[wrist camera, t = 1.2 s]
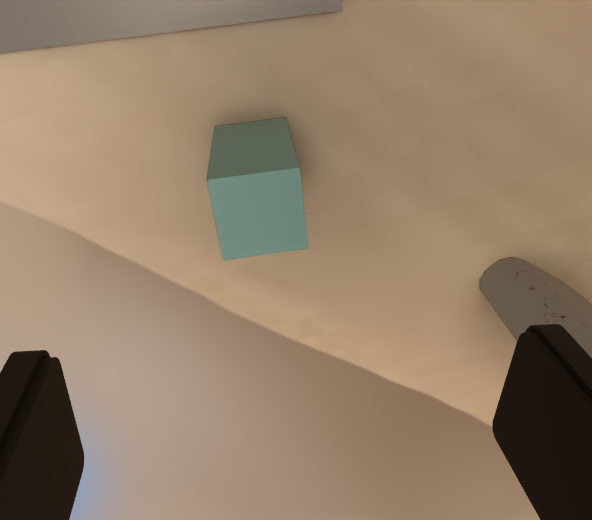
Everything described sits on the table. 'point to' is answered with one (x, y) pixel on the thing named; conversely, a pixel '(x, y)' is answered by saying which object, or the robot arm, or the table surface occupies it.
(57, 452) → the robot arm
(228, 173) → the block
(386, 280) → the table surface
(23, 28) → the well
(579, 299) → the flask
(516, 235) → the table surface
